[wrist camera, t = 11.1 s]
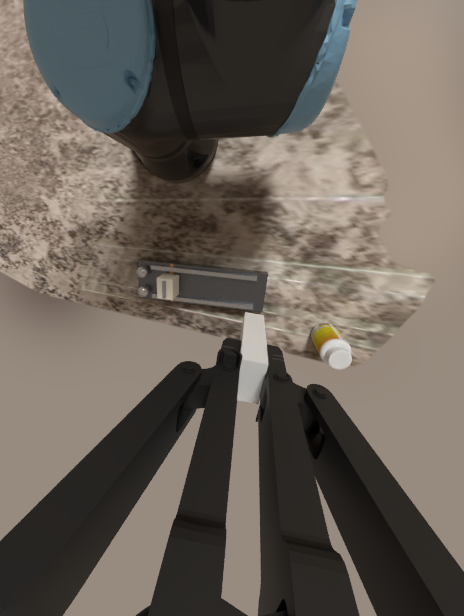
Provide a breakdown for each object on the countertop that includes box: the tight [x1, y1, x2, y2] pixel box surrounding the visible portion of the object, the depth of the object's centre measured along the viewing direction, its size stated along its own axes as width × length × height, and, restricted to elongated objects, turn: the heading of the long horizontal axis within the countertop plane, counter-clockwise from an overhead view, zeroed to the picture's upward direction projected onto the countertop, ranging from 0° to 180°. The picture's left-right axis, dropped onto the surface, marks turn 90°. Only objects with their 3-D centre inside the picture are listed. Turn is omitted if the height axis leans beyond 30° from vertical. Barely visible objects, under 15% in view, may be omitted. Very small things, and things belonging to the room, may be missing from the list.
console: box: [136, 258, 268, 312], centre depth 46 cm, size 8×26×4 cm, turn 85°
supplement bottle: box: [311, 323, 352, 369], centre depth 44 cm, size 6×6×10 cm
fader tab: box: [157, 273, 179, 300], centre depth 44 cm, size 4×3×5 cm
